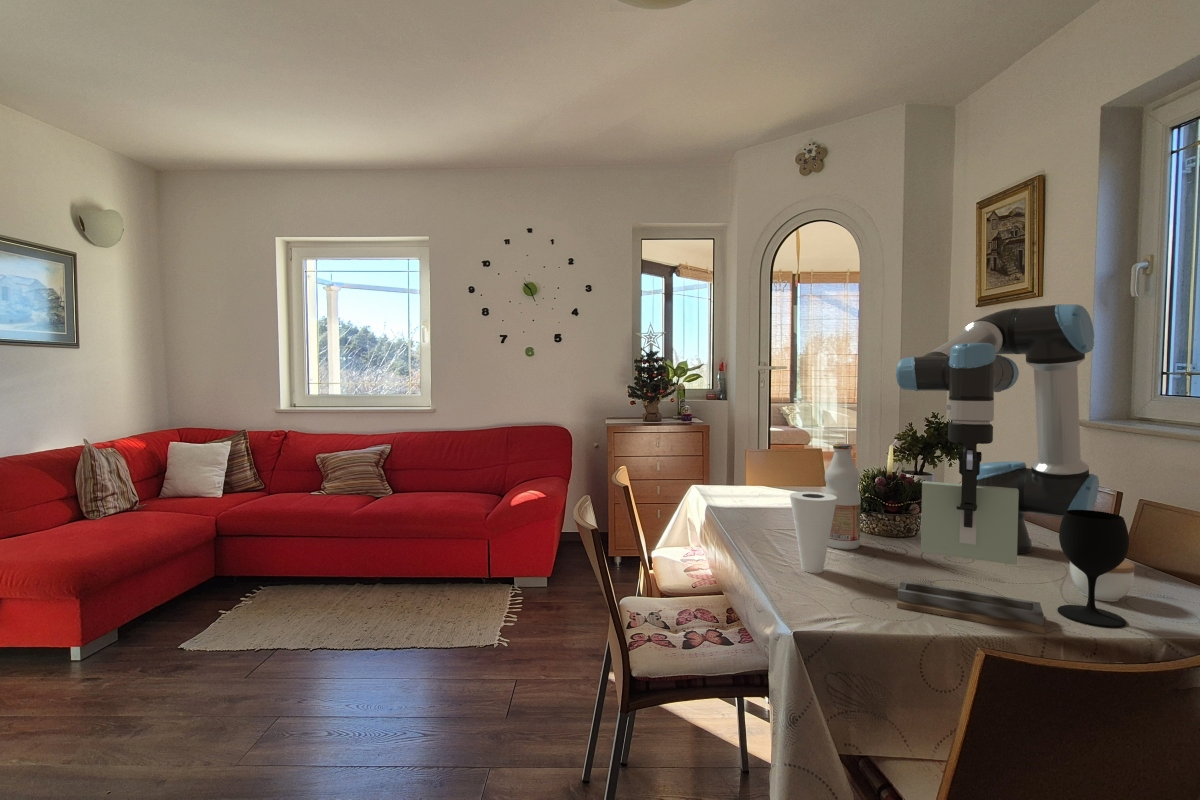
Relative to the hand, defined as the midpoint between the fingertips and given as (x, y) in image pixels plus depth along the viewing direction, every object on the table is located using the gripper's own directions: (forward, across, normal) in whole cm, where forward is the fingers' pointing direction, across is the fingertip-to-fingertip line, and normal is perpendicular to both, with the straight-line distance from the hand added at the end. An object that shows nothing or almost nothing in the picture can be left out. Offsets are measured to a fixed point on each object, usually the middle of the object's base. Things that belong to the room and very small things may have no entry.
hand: (967, 540), depth 119 cm
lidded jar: (+14, -24, +24) cm, 37 cm away
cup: (+14, -11, -32) cm, 36 cm away
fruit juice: (+14, -37, -30) cm, 50 cm away
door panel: (+3, 0, 0) cm, 3 cm away
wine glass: (+14, -10, +21) cm, 27 cm away
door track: (+14, 0, 0) cm, 14 cm away
